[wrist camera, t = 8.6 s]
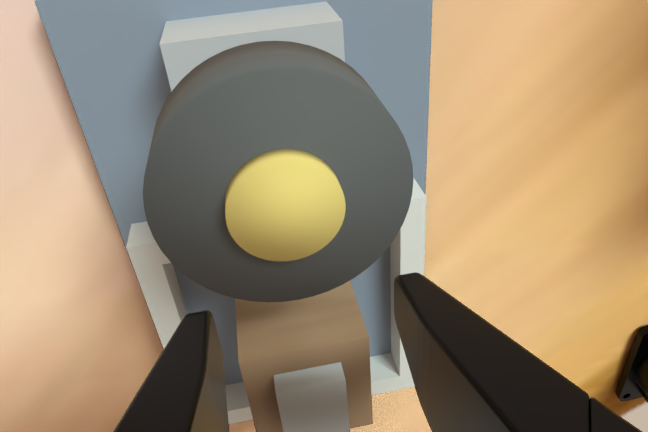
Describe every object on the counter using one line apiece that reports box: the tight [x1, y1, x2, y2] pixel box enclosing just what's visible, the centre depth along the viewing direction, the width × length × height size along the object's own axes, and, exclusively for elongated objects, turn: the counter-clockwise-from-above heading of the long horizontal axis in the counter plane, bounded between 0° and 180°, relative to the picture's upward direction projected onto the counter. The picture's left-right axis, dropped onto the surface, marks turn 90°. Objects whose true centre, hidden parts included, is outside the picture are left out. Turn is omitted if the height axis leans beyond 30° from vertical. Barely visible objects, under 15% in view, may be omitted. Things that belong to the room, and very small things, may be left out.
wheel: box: [143, 41, 413, 302], centre depth 12 cm, size 6×6×2 cm
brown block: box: [235, 281, 373, 432], centre depth 21 cm, size 5×4×6 cm
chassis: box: [35, 0, 432, 425], centre depth 21 cm, size 19×12×4 cm, turn 5°
